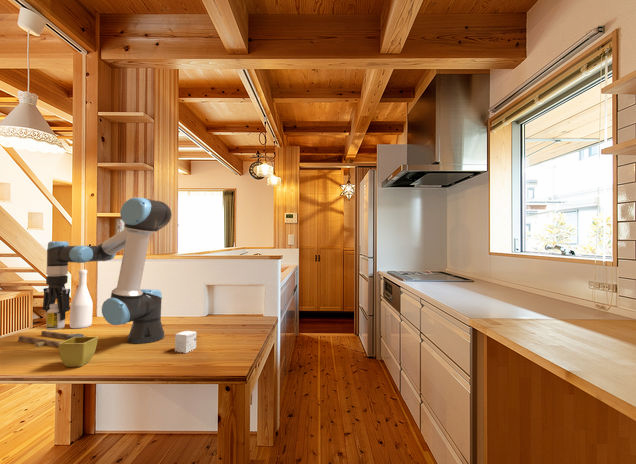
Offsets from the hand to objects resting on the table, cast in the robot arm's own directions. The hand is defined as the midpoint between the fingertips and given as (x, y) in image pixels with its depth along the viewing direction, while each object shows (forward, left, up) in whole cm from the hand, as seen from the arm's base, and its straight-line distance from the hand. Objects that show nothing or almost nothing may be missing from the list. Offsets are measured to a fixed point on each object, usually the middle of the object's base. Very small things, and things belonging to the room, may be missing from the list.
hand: (55, 326), depth 144 cm
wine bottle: (+14, -22, -7) cm, 27 cm away
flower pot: (-37, +16, -7) cm, 41 cm away
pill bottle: (0, 0, -1) cm, 1 cm away
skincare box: (-63, -10, -7) cm, 64 cm away
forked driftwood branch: (-1, 0, -7) cm, 7 cm away
